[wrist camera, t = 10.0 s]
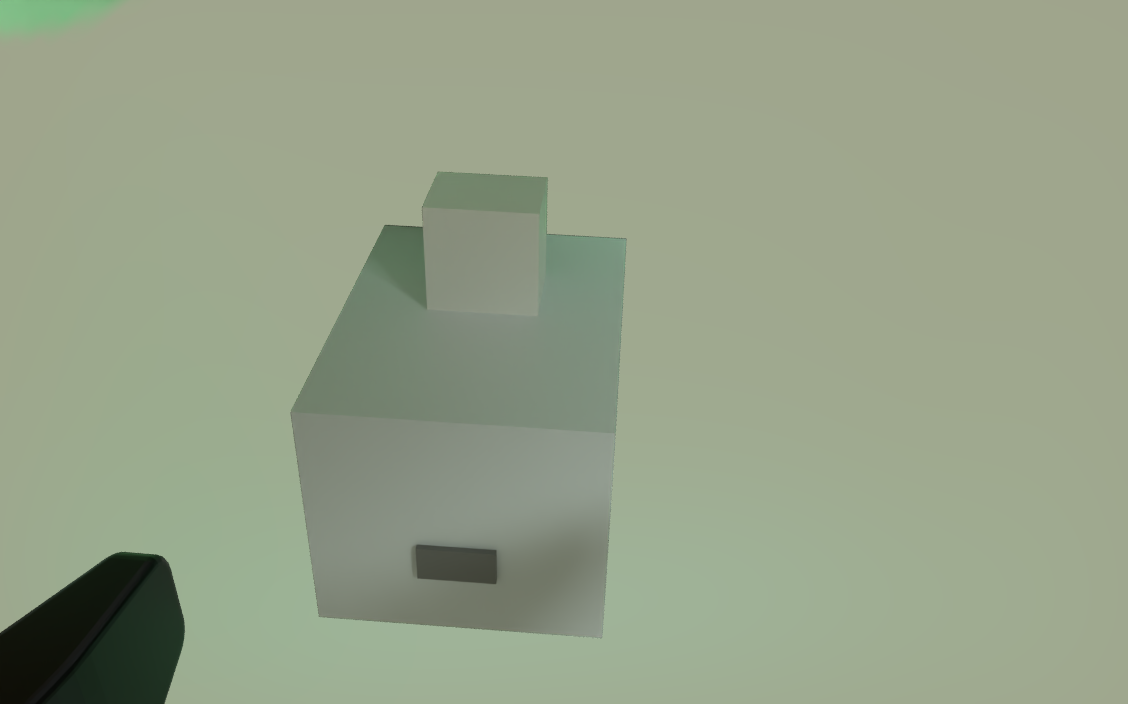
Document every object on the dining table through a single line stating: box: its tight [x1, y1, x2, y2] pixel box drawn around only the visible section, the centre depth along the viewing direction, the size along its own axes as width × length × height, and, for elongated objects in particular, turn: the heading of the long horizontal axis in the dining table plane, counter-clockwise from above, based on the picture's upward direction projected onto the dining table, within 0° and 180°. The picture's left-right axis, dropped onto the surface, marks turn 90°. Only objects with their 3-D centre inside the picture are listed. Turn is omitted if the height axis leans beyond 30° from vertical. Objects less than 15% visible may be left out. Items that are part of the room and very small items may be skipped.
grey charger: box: [291, 172, 626, 638], centre depth 18 cm, size 4×6×6 cm
